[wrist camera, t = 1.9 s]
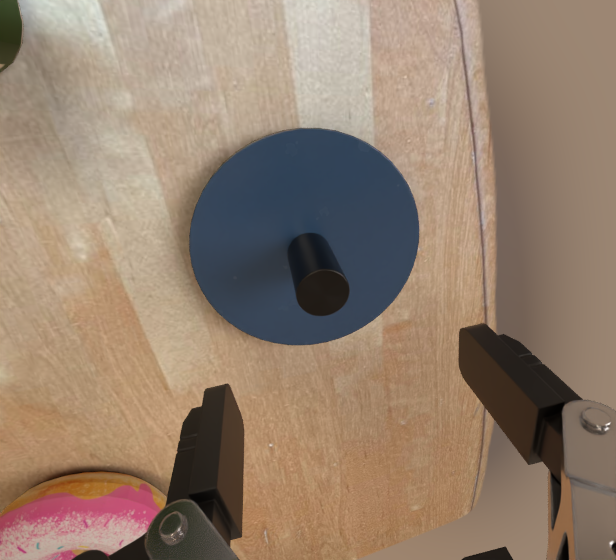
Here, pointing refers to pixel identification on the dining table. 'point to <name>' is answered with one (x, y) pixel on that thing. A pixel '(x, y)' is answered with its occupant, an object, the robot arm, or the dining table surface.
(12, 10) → the beer can
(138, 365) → the dining table surface
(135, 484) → the donut
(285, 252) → the lid
